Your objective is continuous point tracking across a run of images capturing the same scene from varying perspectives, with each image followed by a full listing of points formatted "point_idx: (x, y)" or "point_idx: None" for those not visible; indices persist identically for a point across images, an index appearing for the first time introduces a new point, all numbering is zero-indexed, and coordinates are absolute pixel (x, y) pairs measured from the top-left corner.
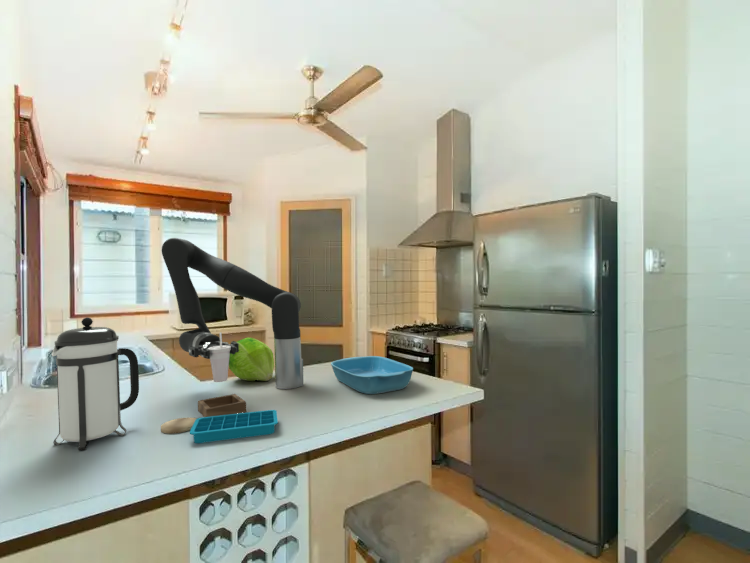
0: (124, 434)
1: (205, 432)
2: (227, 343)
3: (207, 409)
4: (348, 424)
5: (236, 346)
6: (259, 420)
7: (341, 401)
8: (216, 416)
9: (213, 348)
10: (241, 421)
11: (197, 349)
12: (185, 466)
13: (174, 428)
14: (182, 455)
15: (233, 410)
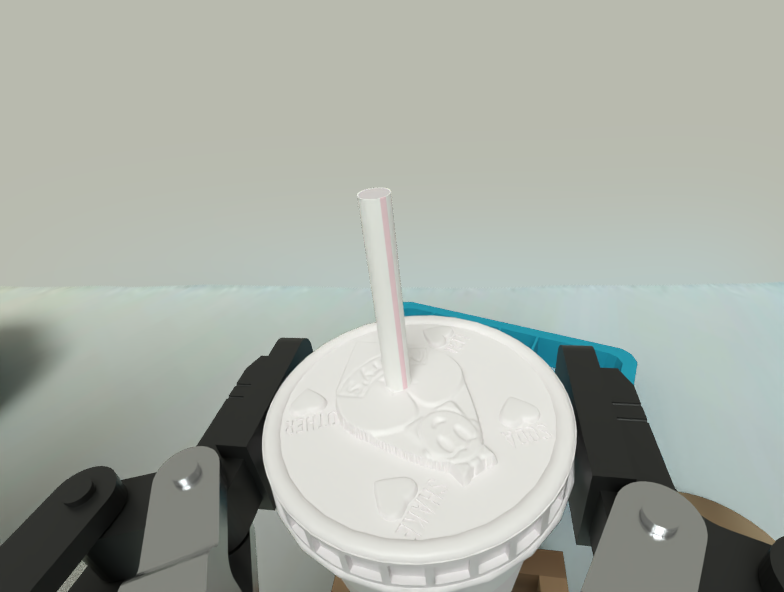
0: None
1: (585, 342)
2: (154, 569)
3: (558, 552)
4: (266, 291)
5: (135, 485)
6: None
7: (87, 408)
8: None
9: (497, 400)
10: None
11: (777, 549)
12: (631, 297)
13: (719, 515)
14: (644, 338)
15: None
